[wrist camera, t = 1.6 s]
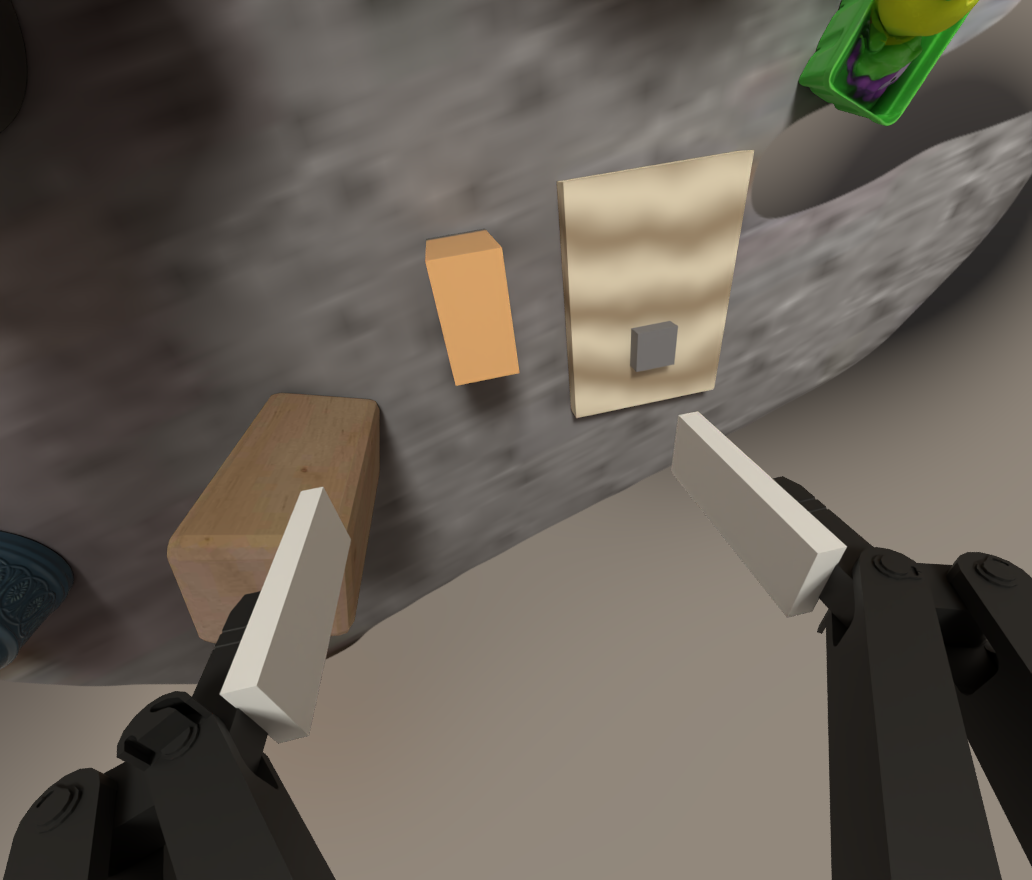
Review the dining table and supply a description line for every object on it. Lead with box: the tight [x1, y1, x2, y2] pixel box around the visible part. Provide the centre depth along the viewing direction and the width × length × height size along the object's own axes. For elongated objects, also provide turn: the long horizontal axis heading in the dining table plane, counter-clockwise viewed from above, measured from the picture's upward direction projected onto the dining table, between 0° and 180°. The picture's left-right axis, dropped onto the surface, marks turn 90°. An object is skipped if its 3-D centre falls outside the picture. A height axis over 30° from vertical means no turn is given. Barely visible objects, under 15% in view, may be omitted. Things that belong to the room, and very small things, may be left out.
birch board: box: [557, 150, 754, 418], centre depth 39 cm, size 22×16×2 cm
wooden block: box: [167, 393, 380, 643], centre depth 34 cm, size 10×10×20 cm
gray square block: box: [630, 321, 678, 372], centre depth 40 cm, size 4×4×2 cm
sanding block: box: [425, 229, 519, 386], centre depth 33 cm, size 9×5×10 cm, turn 8°
